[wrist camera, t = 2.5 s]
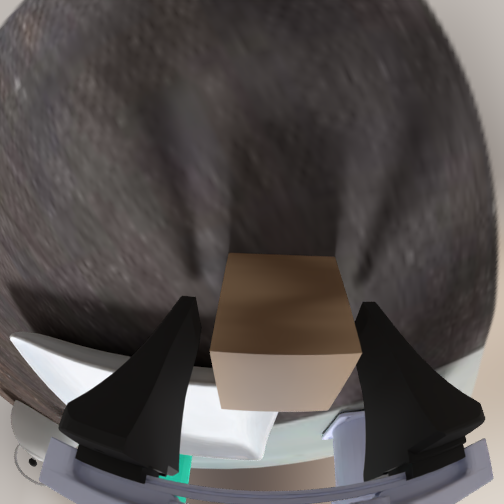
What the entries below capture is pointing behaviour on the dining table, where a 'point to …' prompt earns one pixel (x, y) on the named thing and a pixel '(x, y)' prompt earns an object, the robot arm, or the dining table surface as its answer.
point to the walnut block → (282, 334)
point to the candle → (181, 472)
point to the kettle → (34, 433)
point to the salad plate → (195, 409)
